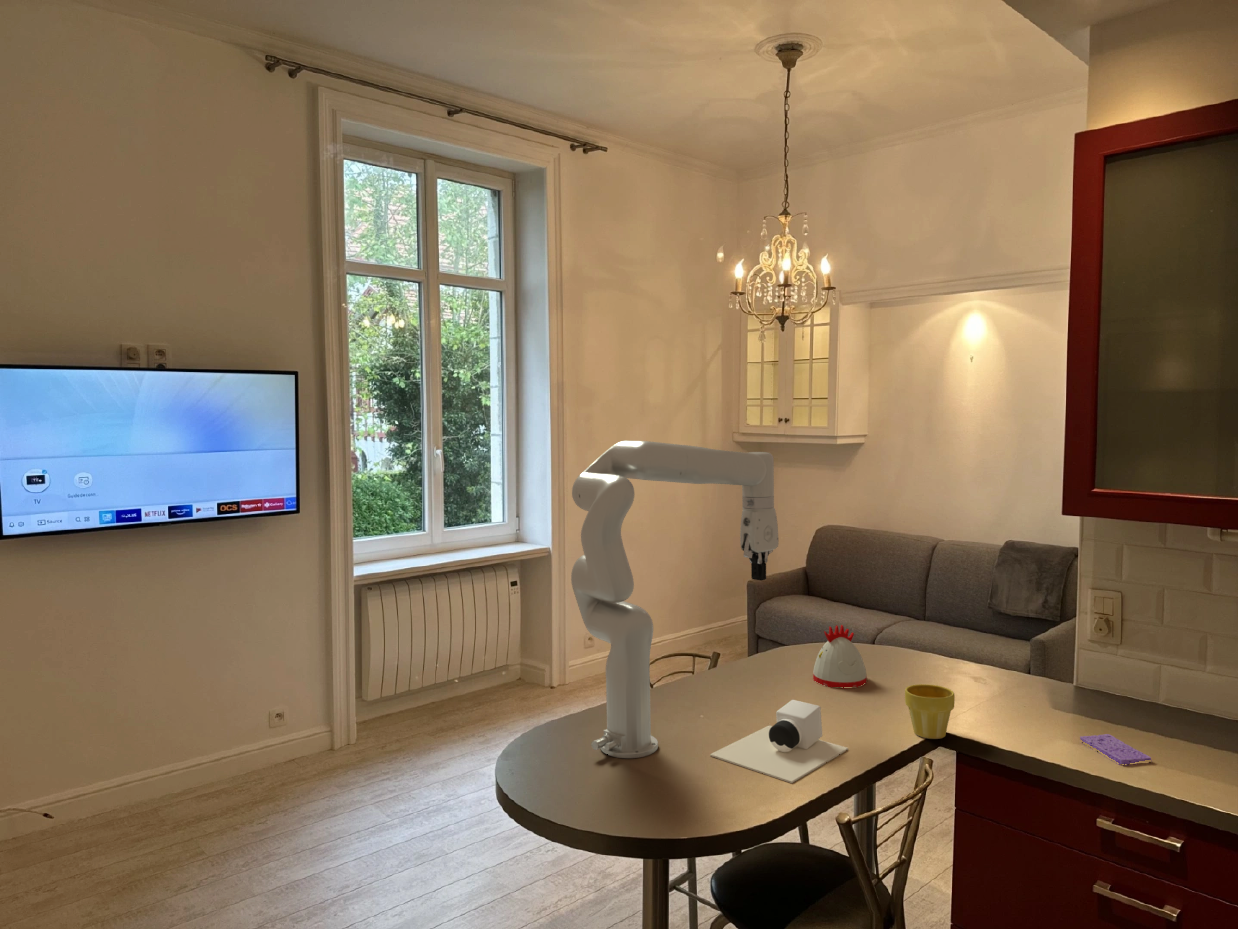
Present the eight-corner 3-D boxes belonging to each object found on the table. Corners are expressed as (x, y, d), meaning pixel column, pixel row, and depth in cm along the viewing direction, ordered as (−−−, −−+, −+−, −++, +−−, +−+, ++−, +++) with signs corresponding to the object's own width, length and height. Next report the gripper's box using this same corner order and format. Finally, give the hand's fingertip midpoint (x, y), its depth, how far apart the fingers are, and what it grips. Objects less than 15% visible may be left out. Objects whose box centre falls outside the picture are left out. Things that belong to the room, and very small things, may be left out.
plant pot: (910, 722, 196) (910, 680, 195) (957, 730, 191) (958, 687, 190) (900, 737, 187) (900, 693, 186) (949, 746, 182) (949, 701, 181)
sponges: (1108, 742, 183) (1108, 733, 183) (1152, 766, 171) (1152, 757, 171) (1078, 744, 183) (1079, 735, 182) (1120, 768, 170) (1121, 759, 170)
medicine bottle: (792, 698, 189) (763, 720, 180) (821, 705, 184) (793, 728, 175) (794, 728, 190) (765, 751, 181) (823, 736, 185) (795, 760, 176)
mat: (791, 783, 165) (791, 781, 165) (710, 756, 179) (710, 754, 179) (848, 749, 181) (848, 748, 181) (769, 727, 195) (769, 725, 194)
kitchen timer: (805, 674, 233) (804, 620, 232) (851, 670, 236) (851, 617, 235) (826, 690, 219) (826, 633, 218) (875, 686, 222) (875, 630, 221)
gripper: (753, 507, 195) (753, 586, 196) (788, 501, 206) (789, 576, 207) (726, 505, 200) (727, 582, 201) (762, 500, 211) (763, 573, 212)
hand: (758, 579), depth 204 cm, fingers closed
